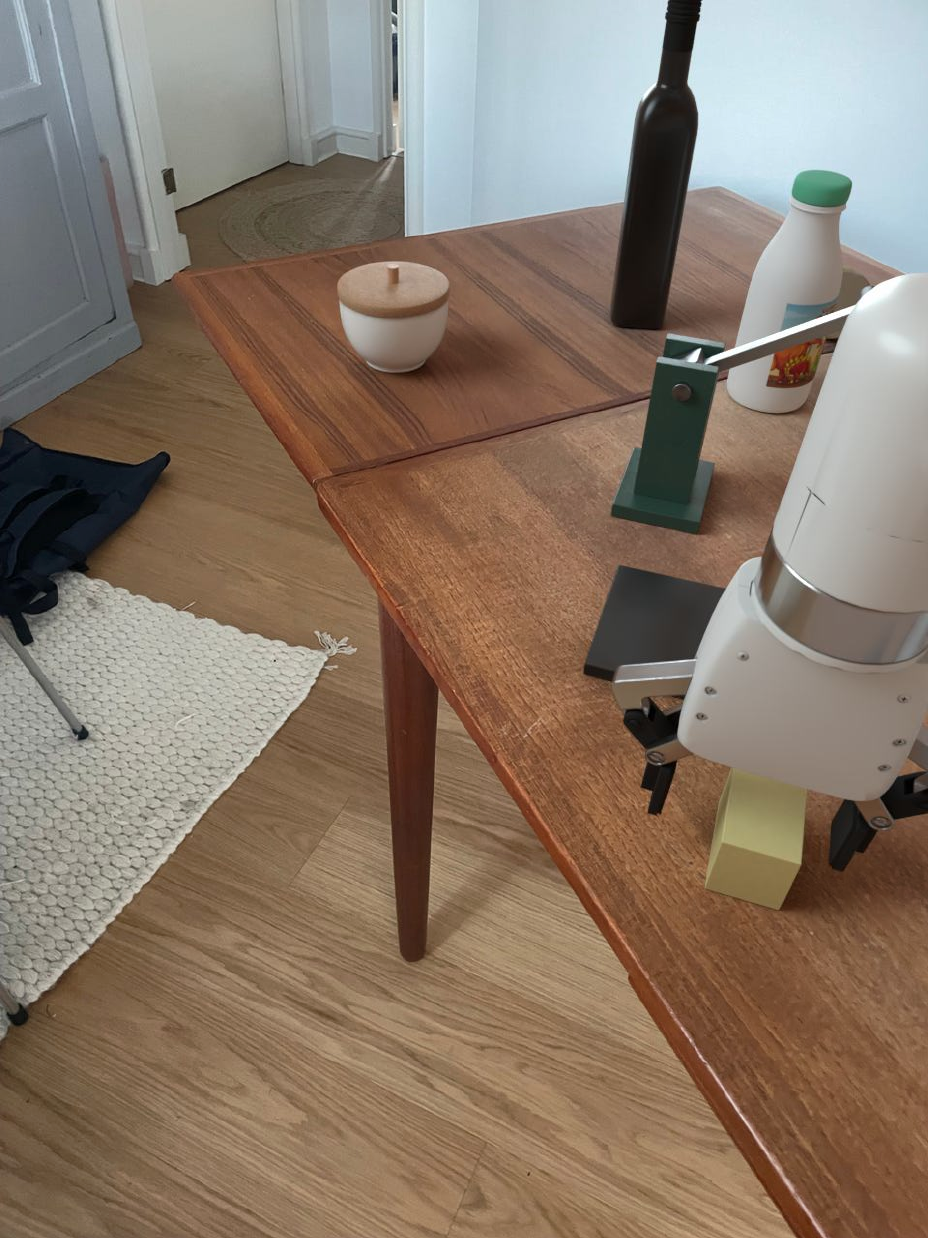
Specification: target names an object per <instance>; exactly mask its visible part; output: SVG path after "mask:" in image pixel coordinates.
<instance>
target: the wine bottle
mask: <svg viewBox="0 0 928 1238" xmlns="http://www.w3.org/2000/svg"><path fill="white" fill-rule="evenodd" d="M702 1H703V0H667V6H666V11H665V15H664V19H665V28H664V33H663V34H664V35H663V40H662V47H661V48H662V49H661V56H660V61H659V62H660V63H659V70H658V76H657V81H656V83H654V84H653V85H652V86H651V87H649V88H648V90H646V92H645V93H644V94H643V96H642V97H641V99H640V100H639V103H638V106H637V109H636V111H635V113H636V114H635V117H634V124H633V133H632V138H631V139H632V140H631V145H630V146H631V147H630V156H629V160H628V161H629V162H628V169H627V177H626V184H625V192H624V200H623V208H622V213H621V221H620V222H621V223H620V229H619V238H618V244H617V252H616V258H615V259H616V260H615V268H614V274H613V281H612V282H613V283H612V290H611V298H610V305H609V306H610V307H609V309H610V321H611V323H612V325H614V326H617V327H621V328H632V329H633V328H635V329H647V330H648V329H650V330H651V329H652V330H658V329H660V328H662V327H663V326H664V324H665V321H666V314H667V307H668V302H669V296H670V292H671V285H672V279H673V275H674V274H673V273H674V267H675V261H676V256H677V251H678V246H679V239H680V234H681V228H682V222H683V217H684V211H685V205H686V200H687V194H688V188H689V182H690V176H691V171H692V165H693V160H694V155H695V148H696V144H697V138H698V132H699V131H698V130H699V110H698V105H697V101H696V97H695V95H694V93H693V90H692V89H691V87H690V86H689V83H688V81H689V74H690V68H691V62H692V56H693V50H694V46H695V40H696V34H697V26H698V22H699V21H700V19H701V14H700V13H701V11H702V10H701V9H702V4H703V3H702Z"/></svg>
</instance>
